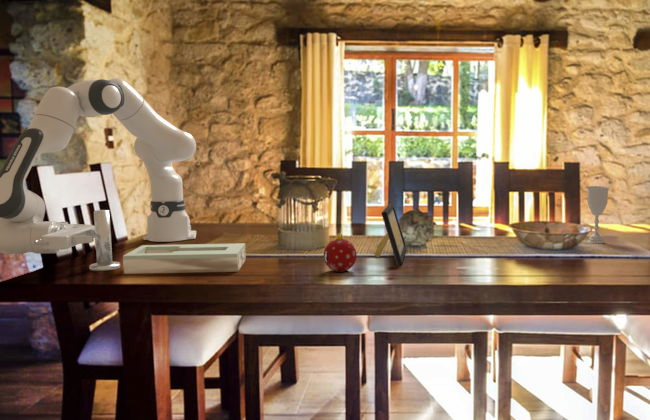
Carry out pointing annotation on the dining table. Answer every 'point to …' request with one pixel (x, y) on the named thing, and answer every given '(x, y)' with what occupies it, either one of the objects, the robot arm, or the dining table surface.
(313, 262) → the dining table surface
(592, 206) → the chalice
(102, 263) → the keyhole peg
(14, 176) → the robot arm
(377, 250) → the picture frame
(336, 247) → the christmas ornament
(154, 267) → the keyhole board
